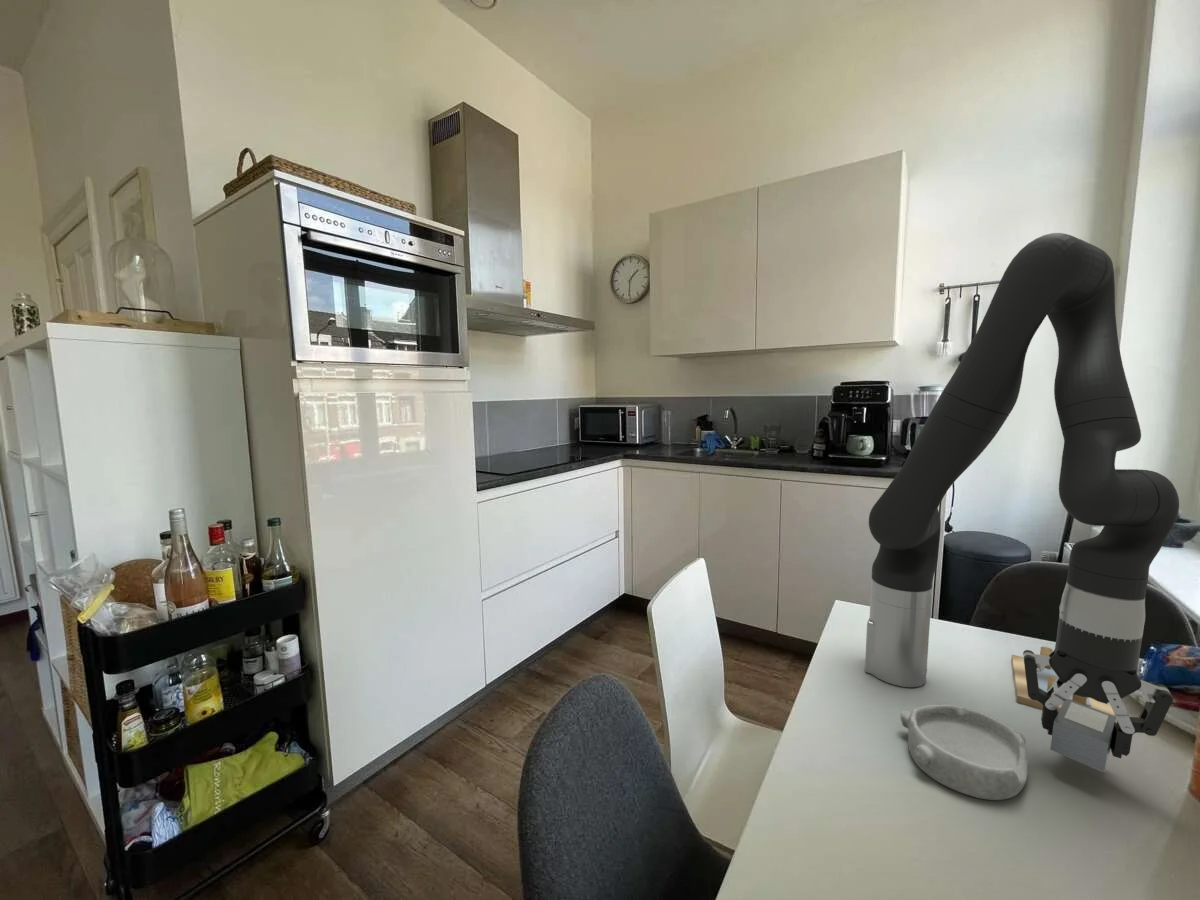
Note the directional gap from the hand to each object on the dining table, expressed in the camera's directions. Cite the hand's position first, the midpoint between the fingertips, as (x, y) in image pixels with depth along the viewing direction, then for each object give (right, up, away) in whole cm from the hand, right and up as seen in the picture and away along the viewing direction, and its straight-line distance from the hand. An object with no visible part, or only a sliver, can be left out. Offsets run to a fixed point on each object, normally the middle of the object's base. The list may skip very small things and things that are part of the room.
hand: (1082, 742), depth 65 cm
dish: (-14, -5, +2) cm, 15 cm away
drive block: (0, -1, 0) cm, 1 cm away
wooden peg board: (+14, -2, +18) cm, 23 cm away
